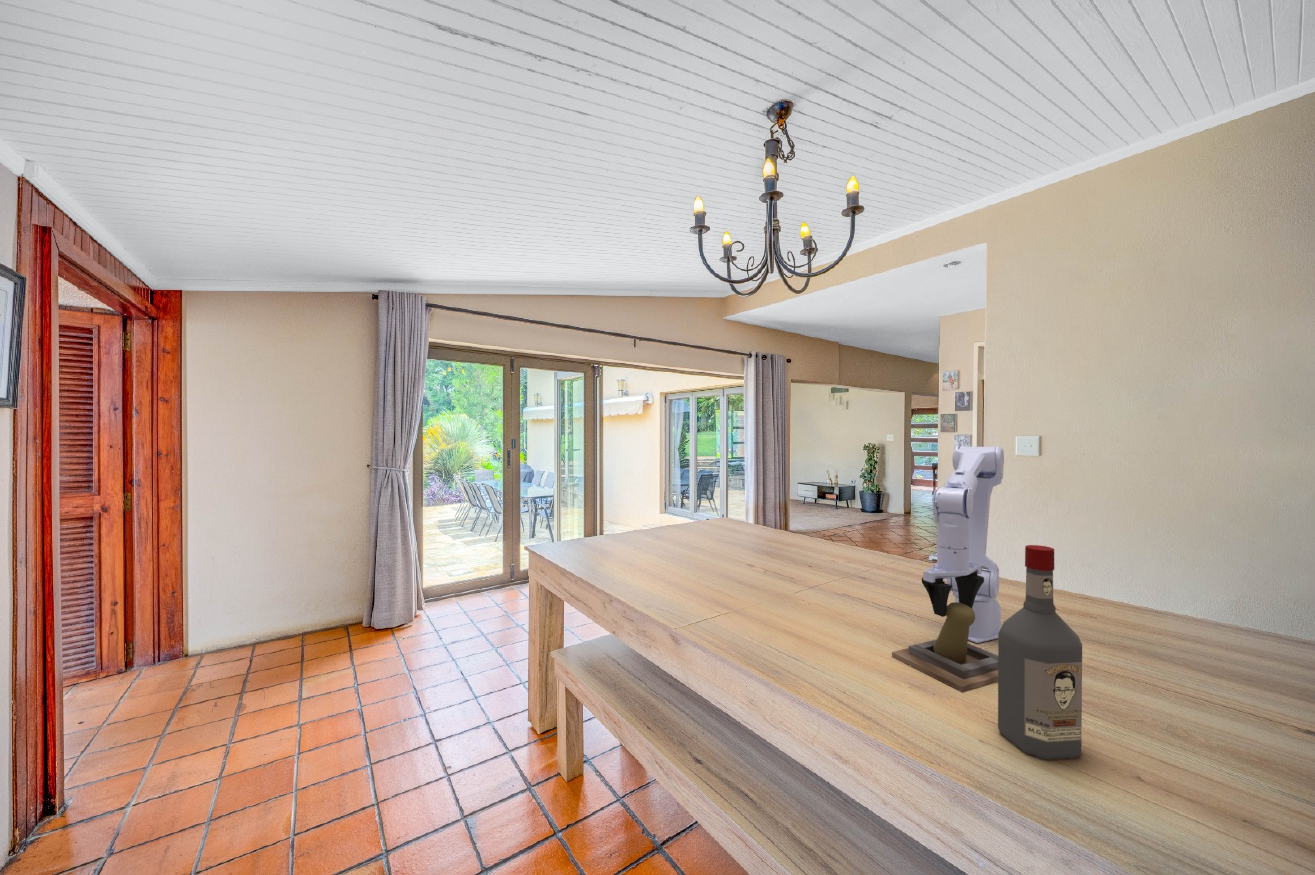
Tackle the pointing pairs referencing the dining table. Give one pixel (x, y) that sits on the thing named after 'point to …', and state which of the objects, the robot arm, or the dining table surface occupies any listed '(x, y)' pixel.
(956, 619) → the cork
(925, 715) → the dining table surface
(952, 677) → the socket board
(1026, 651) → the liquor
